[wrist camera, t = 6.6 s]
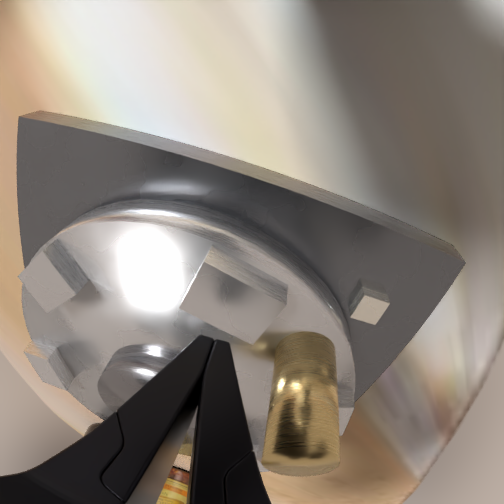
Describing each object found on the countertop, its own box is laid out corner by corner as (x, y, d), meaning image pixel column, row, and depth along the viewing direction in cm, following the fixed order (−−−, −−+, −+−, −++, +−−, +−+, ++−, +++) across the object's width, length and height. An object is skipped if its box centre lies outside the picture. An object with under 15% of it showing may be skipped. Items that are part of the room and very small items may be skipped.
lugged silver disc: (419, 270, 11) (479, 411, 6) (285, 453, 20) (276, 531, 14) (27, 163, 11) (-86, 230, 5) (69, 385, 20) (32, 450, 14)
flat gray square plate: (39, 110, 11) (9, 119, 10) (452, 245, 12) (471, 270, 10) (60, 366, 22) (48, 384, 20) (289, 446, 22) (287, 468, 21)
